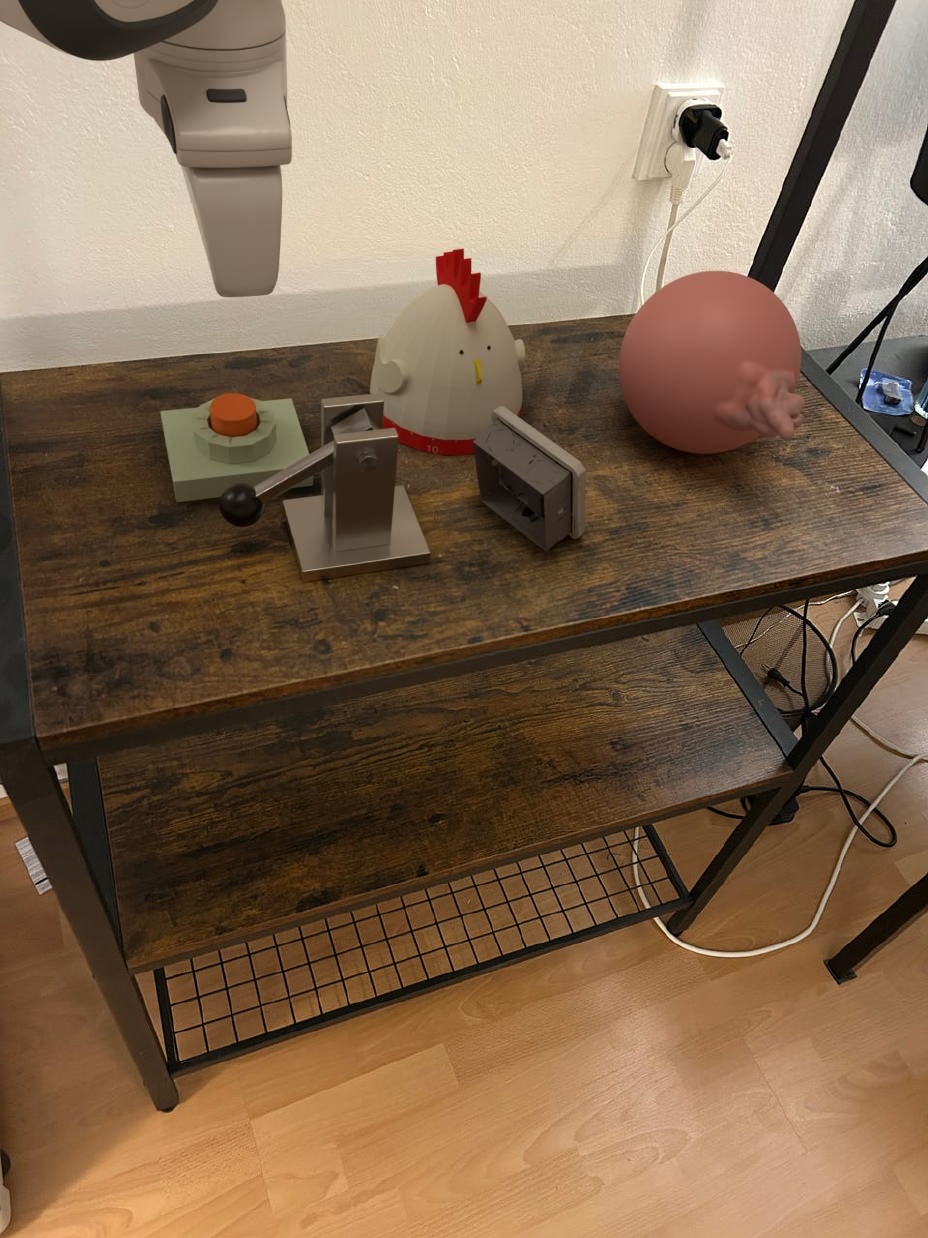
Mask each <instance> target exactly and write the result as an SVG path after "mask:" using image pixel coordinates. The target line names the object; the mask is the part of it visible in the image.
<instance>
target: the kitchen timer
mask: <svg viewBox="0 0 928 1238" xmlns="http://www.w3.org/2000/svg"><path fill="white" fill-rule="evenodd" d="M435 272H436V273H435V274H436V282H437V283H436V284H437V285H436V286H433V287H430V288H428V289H426V290H424V291H423V292H422V293H421V294H418V295H417V296H416V297H415V298H413V299H412V300H411V301H410V302H409V303H407V304H406V306H405V307H403V309H402V310H401V311H400V312H399V314H398V315H397V317H396V318H395V320H394V322H393V323H392V324H391V326H390V327H389V329H388V330H387V333H386V334H385V336H384V335H382V334H379V335H378V339H377V343H376V348H375V354H374V363H373V367H372V372H371V376H370V383H369V394H377V393H381V395H382V397H383V400H384V414H383V429H388V428H395V429H396V431H397V434H398V436H399V439H398V443H400V444H403V445H405V446H408V447H410V448H412V449H415V450H418V451H420V452H425V453H429V454H436V455H441V456H467V455H471V454H474V448H473V441H474V440H476V439H477V438H478V437H479V436H481V435H482V434H483V433H484V432H485V431H486V429H487V428H488V427H489V426H491V425H492V424H493V423H492V418H491V416H492V412H493V411H494V410H495V409H496V408H498V407H499V406H504V407H505V408H507V409H508V410H509V411H511V412H512V413H513V414H515V415H516V416H518V417H519V418H521V412H522V406H523V382H522V379H523V378H522V372H523V371H525V368H526V348H525V343H524V341H523V340H522V339H521V338H518V339H514V336H513V333H512V332H511V329H510V327H509V326H508V323H507V322H506V320H505V317H503V315H502V313H501V311H500V310H499V309H498V307H497V305H495V304H494V303H493V302H492V301H491V299H490V298H489V297H488V296H486V295H485V294H484V293H483V292H481V291H480V287H481V282H482V281H481V280H482V272H480V271H479V272H473V273H472V257H469V258H468V257H467V258H465V248H457V249H452V251H445V252H443V255H436V256H435Z"/></svg>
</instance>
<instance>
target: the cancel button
mask: <svg viewBox="0 0 928 1238" xmlns="http://www.w3.org/2000/svg"><path fill="white" fill-rule="evenodd" d="M251 398H252V397H249V396H247V395H245V394H242V393H237V392H229V393H224V394H220V395H219V396H217V397H215V398H213V399H214V400H213V401H212V402H211V404H210V415H211V424H212V428H213V429H214V430H215V432H217V433H218V434H220V435H223V436H227V437H240V436H246V435H248V434H250V433H252V432H253V431H254V430H255V428H256V426H257V415H256V405H255V403H254V401H253V400H252V399H251Z"/></svg>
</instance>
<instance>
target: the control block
mask: <svg viewBox="0 0 928 1238" xmlns="http://www.w3.org/2000/svg"><path fill="white" fill-rule="evenodd" d="M250 398H251V399H252V400H253V401H254V403H255V405H256V415H257V426H256V428H255V430H254V431H253V432H252V433H250V434H248V435H246V436H240V437H227V436H223V435H220V434H218V433H217V432H215V430H214V429H213V428H212V424H211V415H210V404H211V402H212V401H213V400H214V399H215V398H213V399H211V400H209V401H206V402H204V403H202V404H200V405H199V406H197V407H188V408H178V409H169V410H160V418H161V425H162V432H163V437H164V442H165V447H166V453H167V458H168V464H169V469H170V475H171V480H172V485H173V491H174V492H173V493H174V496H175V502H176V503H183V502H184V503H185V502H192V501H200V500H207V499H209V500H210V499H216V498H220V497H221V495H222V493H223V492H224V490H225V489H227V488H228V487H229V486H231V485H233V484H237V483H245V484H249V485H251V486H253V487H254V486H256V485H258V484H259V483H261V482H263V481H265V480H266V479H268V478H270V477H271V476H273V475H275V474H277V473H278V472H280V471H282V470H283V469H285V468H287V467H289V466H290V465H292V464H294V463H295V462H297V461H299V460H301V459H302V458H304V457H306V456H308V455H309V454H310V452H309V449H308V446H307V445H308V444H307V443H306V440H305V436H304V433H303V431H302V426H301V423H300V420H299V418H298V414H297V411H296V408H295V404H294V401H293V399H292V398H281V399H271V400H270V399H269V400H259V399H257V398H253V397H250ZM312 486H314V475H313V476H311V477H310V478H308V479H306V480H304V481H303V482H301V483H299V484H297V485H296V486H294V487H292V488H291V489H296V488H297V489H298V488H303V487H312Z"/></svg>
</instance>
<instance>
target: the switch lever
mask: <svg viewBox="0 0 928 1238" xmlns="http://www.w3.org/2000/svg"><path fill="white" fill-rule="evenodd" d="M331 429H332V432H333V435H335V434H343V433H352V432H361V431H370V430H379V428H378V426H377V425H376V423H375V422H374V421H373V419H372V418H371V417H370V415H369V414H368V412H367V411H366V410H365V408H363V409H361V410H359V411H358V412H356V413H354V414H353V415H351V416H349V417H347V418H346V419H344V420H342V421H341V422H339V423H337V424H335V425H334V426H332V427H331ZM333 453H334V440H333V441H332V442H330V443H328V444H326V445H325V446H323V447H321V446H320V448H318V449H316V450H314V451H313V452H311V453H309V455H308V456H306V457H304V458H302V459H301V460H299V461H297V462H295V463H294V464H292V465H290V466H289V467H287V468H285V469H283V470H282V471H280V472H278V473H277V474H275V475H273V476H271V477H270V478H268V479H266V480H265V481H263V482H261V483H259V484H258V485H256V486H254V487H253V486H251V485H249V484H245V483H237V484H233V485H231V486H229V487H228V488H227V489H225V490H224V492H223V493H222V495H221V497H219V501H218V508H219V512H220V514H221V516H222V519H224V520H225V522H227V523H228V524H230V525H231V526H234V527H237V528H247V527H250V526H252V525H255V524H256V523H258V522H259V520H260V519H261V517H262V516H263V513H264V510H265V504H266V503H268V502H270V501H272V500H273V499H275V498H277V497H278V496H280V495H282V494H284V493H286V492H287V491H289V490H291V489H293V488H292V487H294V486H296V485H297V484H299V483H301V482H303V481H304V480H306V479H308V478H310V477H311V476H313V477H314V475H317V474H318V473H321V471H322V470H323V469H325V468H327V467H329V466H330V465H332V464H333Z"/></svg>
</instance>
